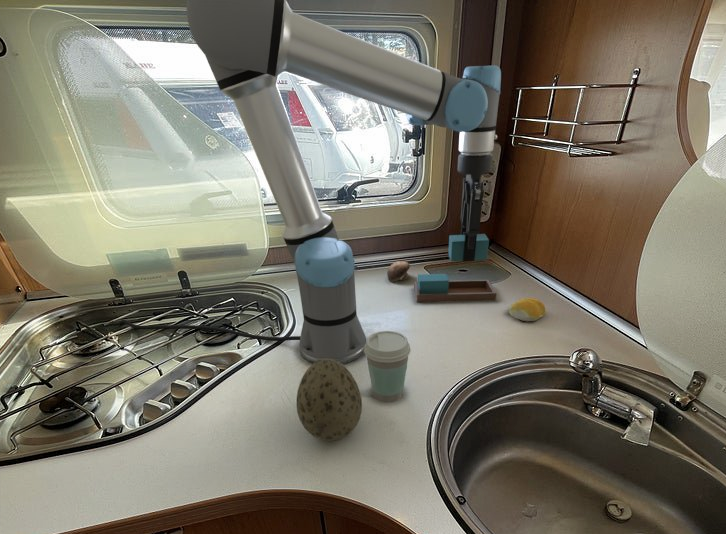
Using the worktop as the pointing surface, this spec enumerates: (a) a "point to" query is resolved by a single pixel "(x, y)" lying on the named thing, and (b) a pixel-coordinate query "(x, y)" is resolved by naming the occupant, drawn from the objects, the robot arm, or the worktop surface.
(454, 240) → the teal rectangular block
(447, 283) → the turquoise block
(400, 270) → the mushroom
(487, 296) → the brown shallow rectangular tray
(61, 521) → the worktop surface
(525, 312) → the bread roll
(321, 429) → the decorative egg
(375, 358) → the coffee cup
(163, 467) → the worktop surface
